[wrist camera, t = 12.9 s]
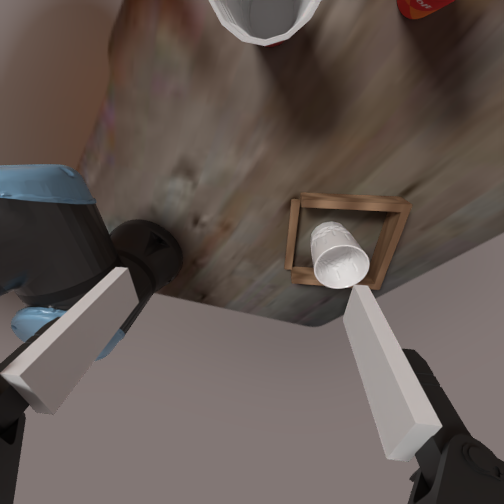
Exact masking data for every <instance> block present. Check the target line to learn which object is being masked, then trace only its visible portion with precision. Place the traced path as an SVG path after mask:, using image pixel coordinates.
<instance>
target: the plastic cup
mask: <svg viewBox="0 0 504 504" xmlns="http://www.w3.org/2000/svg"><path fill="white" fill-rule="evenodd" d="M209 2H210V4H211V5H212V7H213V9H214V11H215V13H216V15H217V16H218V18H219V20H220V22H221V24H222V25H223V26H224V27H225V28H227V29H228V30H229V31H230V32H231V33H233V34H234V35H235V36H236V37H237V38H239V39H240V40H241V41H243V42H248V43H253V44H258V45H262V46H266V47H274V46H277V45H280V44H281V43H283V42H284V41H285V40H287V39H289V38H290V37H291V36H292V35H293V34H294V33H295V32H297V31H298V30H299V29H300V28H301V27H302V26H303V25H304V24H306V23H307V22H308V21H309V20H310V19H311V17H312V16H313V14H314V12H315V10H316V9H317V7H318V5H319V3H320V2H321V0H209Z"/></svg>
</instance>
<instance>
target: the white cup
mask: <svg viewBox="0 0 504 504" xmlns="http://www.w3.org/2000/svg"><path fill="white" fill-rule="evenodd" d="M310 243H311V253H312V261H313V268H314V274H315V276H316V278H317V280H318V281H319V282H320V283H321V284H323V285H325V286H327V287H330V288H335V289H342V288H347V287H351V286H353V285H355V284H357V283H358V282H360V281H361V280H362V279H363V278H364V277H365V276H366V274H367V272H368V270H369V258H368V256H367V255H366V253H365V252H364V251H363V249H362V248H361V247H360V245H359V244H358V243H357V241H356V240H355V239H354V237H353V236H352V235H351V234H350V233H349V231H348V230H347V229H346V228H345V227H344V226H343V225H342V224H340V223H337V222H333V221H330V222H324V223H322V224H320V225H319V226H317V227H316V228H315V229H314V231H313V232H312V234H311V239H310Z"/></svg>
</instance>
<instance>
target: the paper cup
mask: <svg viewBox="0 0 504 504" xmlns="http://www.w3.org/2000/svg"><path fill="white" fill-rule="evenodd" d="M453 1H455V0H397V5H398V8H399V10H400V12H401V13H402V14H403V15H404V16H405V17H407V18H409V19H419V18H422V17H425V16H427V15H429V14H431V13H433V12H435V11H437V10H439V9H440V8H442V7H444V6H446V5H448V4H450V3H451V2H453Z"/></svg>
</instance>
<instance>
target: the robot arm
mask: <svg viewBox="0 0 504 504" xmlns="http://www.w3.org/2000/svg"><path fill="white" fill-rule="evenodd" d="M95 203H96V199H94V198H93V197H92V195H91V193H90V191H89V189H88V188H87V186H86V184H85V182H84V180H83V178H82V176H81V175H80V174H79V173H78V172H77V171H76V170H74V169H73V168H71V167H68V166H65V165H52V164H50V165H49V164H44V165H43V164H39V165H5V166H4V165H3V166H2V165H1V166H0V296H1V295H4V294H6V293H8V292H11V291H15V293H16V294H17V295H18V297H19V298H20V299H21V300H22V302H23V303H24V304H25V308H23V309H21V310H19V311H18V312H17V313H16V315H15V317H14V318H13V319H12V322H11V323H12V325H11V327H12V330H13V332H14V333H15V334H16V335H17V337H19V338H20V339H21V340H22V341H23V342H25V343H24V344H22V345H21V346H20V347H19V348H17V349H16V350H15V351H14V352H13V353H12V354H11V355H10V356H8V357H7V358H6V359H5V360H4V361H3V362H2V363H0V504H13V500H14V494H15V487H16V481H17V474H18V467H19V460H20V454H21V447H22V440H23V433H24V427H25V419H26V417H25V413H24V411H25V409H26V408H27V407H28V406H29V405H30V406H31V407H32V408H33V409H34V410H35V411H36V412H37V413H44V414H52V415H53V414H55V412H56V411H57V410H58V408H59V407H60V405H61V404H62V403H63V402H64V400H65V399H66V398H67V396H68V395H69V394H70V392H71V391H72V390H73V388H74V387H75V386H76V385H77V383H78V382H79V381H80V379H81V378H82V377H83V375H84V374H85V373H86V371H87V370H88V369H89V367H90V366H91V365H92V363H93V362H94V361H97V360H100V359H102V358H104V357H106V356H107V355H108V354H109V353H110V352H111V351H112V350H113V348H114V347H115V346H116V345H117V343H118V342H119V341H120V340H121V339H123V338H124V336H125V334H126V333H127V331H128V330H129V328H130V327H131V325H132V324H133V322H134V321H135V320H136V318H137V316H138V315H139V314H140V312H141V311H142V309H143V308H144V306H145V305H146V303H147V302H148V301H149V299H150V297H151V296H152V295H153V293H154V292H156V291H158V290H159V289H161V288H162V287H163V286H165V285H167V284H169V283H170V282H171V281H172V280H173V279H174V278H175V277H176V276H177V274H178V273H179V271H180V269H181V267H182V263H183V257H182V252H181V249H180V247H179V245H178V243H177V241H176V240H175V239H174V238H173V236H172V235H171V234H170V233H169V232H167V231H166V230H165V229H163V228H162V227H160V226H159V225H157V224H154V223H152V222H149V221H145V220H130V221H127V222H124V223H122V224H121V225H119V226H118V227H117V228H115V229H114V230H113V231H112V232H111V233H110V234H109V233H108V230H107V228H106V226H105V224H104V221H103V219H102V217H101V215H100V213H99V210H98V208H97V206H96V204H95ZM343 322H344V326H345V329H346V332H347V335H348V338H349V341H350V345H351V348H352V350H353V354H354V357H355V360H356V363H357V367H358V370H359V373H360V376H361V379H362V382H363V386H364V389H365V392H366V395H367V398H368V402H369V405H370V408H371V411H372V414H373V418H374V420H375V424H376V426H377V430H378V433H379V436H380V440H381V443H382V446H383V449H384V452H385V455H386V459H391V460H399V461H407V462H409V461H410V460H411V459H412V458H413V457H414V456H416V459H417V461H418V463H419V466H420V468H419V469H418V470H417V471H416V472H415V473H414V474H413V475H412V476H411V477H410V480H411V481H412V482H414V485H413V488H412V491H411V495H410V498H409V501H408V504H504V462H503V461H502V460H500V459H498V458H497V457H496V456H495V455H494V454H493V452H492V451H490V449H488V448H487V447H486V446H485V445H483V444H482V443H481V442H480V441H478V440H476V439H474V438H473V437H472V436H471V435H470V433H469V432H468V430H467V429H466V427H465V425H464V424H463V422H462V420H461V419H460V417H459V416H458V414H457V412H456V410H455V409H454V407H453V406H452V404H451V402H450V400H449V399H448V397H447V395H446V394H445V392H444V391H443V389H442V388H441V387H440V384H439V382H438V381H437V379H436V377H435V376H434V375H433V373H432V371H431V369H430V367H429V366H428V364H427V362H426V361H425V360H424V359H423V358H422V357H421V356H420V355H419V354H418V353H417V352H416V351H415V350H411V349H401V347H400V345H399V343H398V341H397V339H396V338H395V336H394V334H393V332H392V330H391V328H390V326H389V325H388V323H387V321H386V319H385V317H384V315H383V313H382V311H381V309H380V307H379V306H378V304H377V302H376V300H375V298H374V296H373V294H372V292H371V290H370V289H369V287H368V286H366V285H353V288H352V291H351V295H350V298H349V301H348V304H347V307H346V311H345V314H344V317H343Z"/></svg>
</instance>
